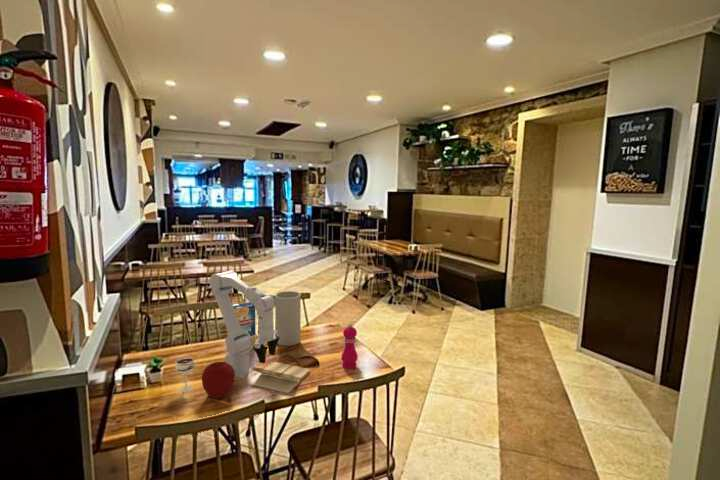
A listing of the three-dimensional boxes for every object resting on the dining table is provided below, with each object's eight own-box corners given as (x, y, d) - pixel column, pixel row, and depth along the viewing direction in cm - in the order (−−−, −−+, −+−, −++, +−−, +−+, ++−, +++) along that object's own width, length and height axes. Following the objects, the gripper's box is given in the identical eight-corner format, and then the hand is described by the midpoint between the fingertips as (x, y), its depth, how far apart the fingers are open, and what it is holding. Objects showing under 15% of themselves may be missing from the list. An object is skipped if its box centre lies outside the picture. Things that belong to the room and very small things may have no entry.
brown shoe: (285, 354, 180) (291, 341, 182) (296, 358, 184) (303, 346, 186) (302, 370, 166) (309, 356, 167) (314, 374, 170) (321, 360, 171)
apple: (240, 396, 144) (240, 363, 143) (210, 408, 136) (209, 373, 135) (227, 384, 153) (226, 352, 151) (197, 394, 145) (196, 361, 143)
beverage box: (229, 348, 186) (228, 305, 183) (251, 343, 192) (250, 301, 189) (233, 353, 180) (232, 309, 177) (255, 348, 186) (255, 305, 183)
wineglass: (190, 382, 154) (189, 354, 152) (198, 388, 149) (197, 359, 148) (173, 389, 148) (172, 360, 147) (181, 395, 144) (180, 365, 142)
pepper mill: (355, 371, 166) (356, 327, 163) (339, 369, 168) (340, 325, 165) (358, 363, 173) (359, 321, 170) (343, 362, 175) (344, 320, 172)
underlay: (245, 383, 154) (245, 383, 154) (272, 363, 171) (272, 362, 171) (288, 393, 147) (288, 392, 147) (310, 371, 165) (310, 371, 165)
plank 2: (271, 374, 152) (272, 371, 152) (280, 377, 158) (281, 374, 159) (291, 378, 149) (292, 375, 149) (299, 381, 155) (300, 378, 156)
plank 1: (251, 369, 155) (252, 366, 155) (261, 373, 162) (262, 370, 162) (270, 374, 152) (271, 370, 152) (279, 377, 159) (280, 374, 159)
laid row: (262, 372, 162) (262, 369, 162) (273, 364, 170) (273, 361, 170) (300, 381, 156) (300, 378, 156) (310, 371, 164) (310, 369, 164)
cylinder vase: (270, 341, 195) (270, 294, 191) (289, 335, 204) (289, 289, 201) (286, 349, 187) (286, 299, 183) (305, 341, 196) (305, 294, 193)
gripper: (265, 333, 143) (266, 367, 145) (283, 321, 157) (284, 352, 159) (249, 331, 145) (250, 365, 147) (268, 319, 159) (269, 350, 161)
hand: (267, 358), depth 153 cm, fingers open, 7 cm apart
